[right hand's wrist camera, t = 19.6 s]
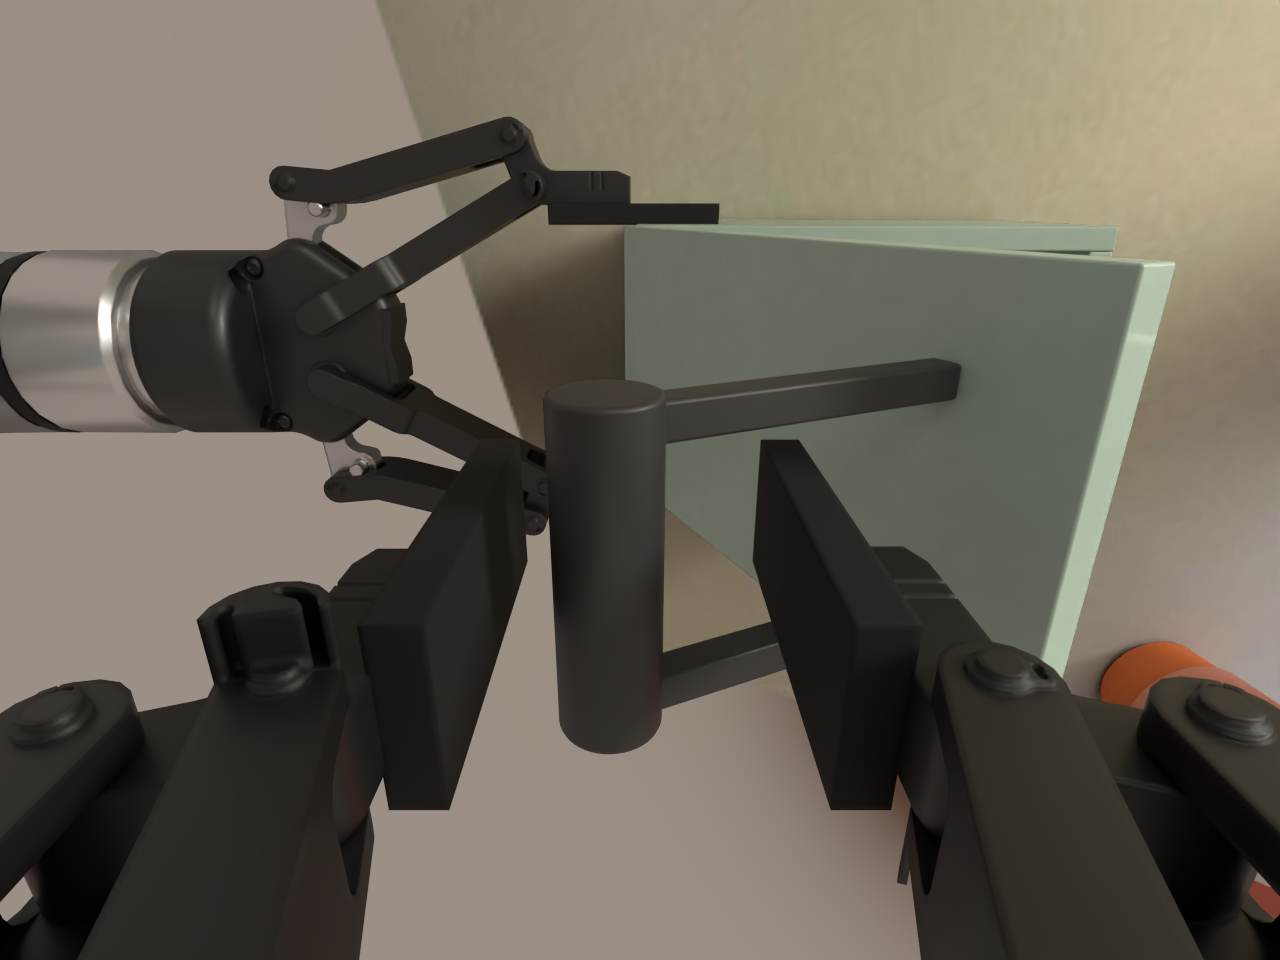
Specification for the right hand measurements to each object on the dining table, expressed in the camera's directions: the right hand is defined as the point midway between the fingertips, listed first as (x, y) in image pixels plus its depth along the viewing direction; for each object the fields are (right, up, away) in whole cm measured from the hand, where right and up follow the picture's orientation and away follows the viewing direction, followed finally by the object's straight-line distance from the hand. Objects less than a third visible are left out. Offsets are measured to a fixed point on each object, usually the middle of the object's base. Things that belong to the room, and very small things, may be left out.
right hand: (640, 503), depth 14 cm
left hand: (+3, +6, +16) cm, 17 cm away
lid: (+4, +2, +5) cm, 7 cm away
